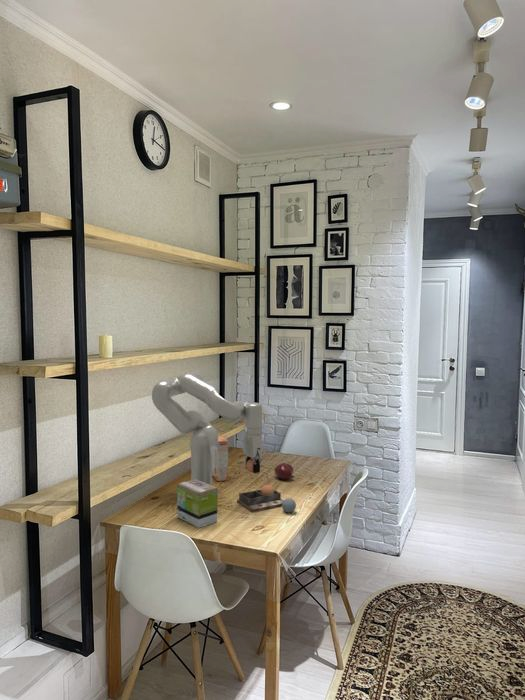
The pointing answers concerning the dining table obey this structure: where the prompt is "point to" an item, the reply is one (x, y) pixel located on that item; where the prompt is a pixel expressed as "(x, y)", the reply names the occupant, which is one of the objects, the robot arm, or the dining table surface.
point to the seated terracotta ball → (267, 490)
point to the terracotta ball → (250, 465)
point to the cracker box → (220, 459)
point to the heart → (284, 471)
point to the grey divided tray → (259, 500)
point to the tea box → (197, 502)
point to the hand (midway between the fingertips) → (252, 470)
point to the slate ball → (288, 505)
